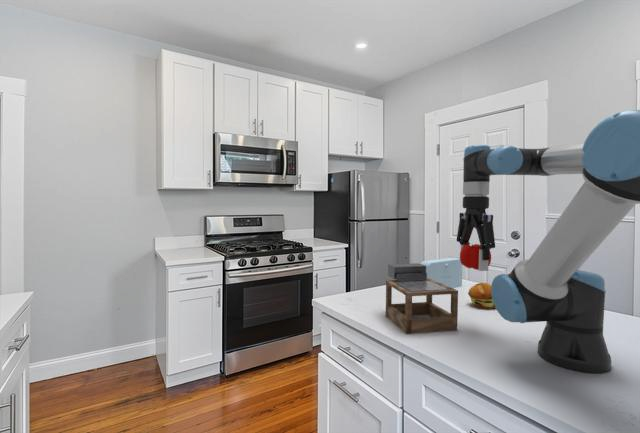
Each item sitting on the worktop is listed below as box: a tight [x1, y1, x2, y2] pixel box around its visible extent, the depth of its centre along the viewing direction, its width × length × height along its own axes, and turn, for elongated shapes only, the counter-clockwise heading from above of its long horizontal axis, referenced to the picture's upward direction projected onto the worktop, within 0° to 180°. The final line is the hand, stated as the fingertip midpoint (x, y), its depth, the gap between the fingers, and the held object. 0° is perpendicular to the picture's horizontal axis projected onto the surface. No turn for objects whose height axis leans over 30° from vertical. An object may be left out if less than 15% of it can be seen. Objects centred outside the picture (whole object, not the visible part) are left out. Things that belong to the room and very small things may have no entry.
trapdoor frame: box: [385, 279, 459, 335], centre depth 114 cm, size 17×17×12 cm
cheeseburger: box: [467, 282, 496, 310], centre depth 132 cm, size 10×11×10 cm
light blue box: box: [420, 257, 463, 289], centre depth 159 cm, size 23×6×13 cm, turn 122°
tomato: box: [459, 243, 492, 271], centre depth 108 cm, size 9×9×8 cm
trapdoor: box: [387, 262, 449, 292], centre depth 117 cm, size 19×13×6 cm
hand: (473, 267), depth 108 cm, fingers closed on tomato, 9 cm apart
